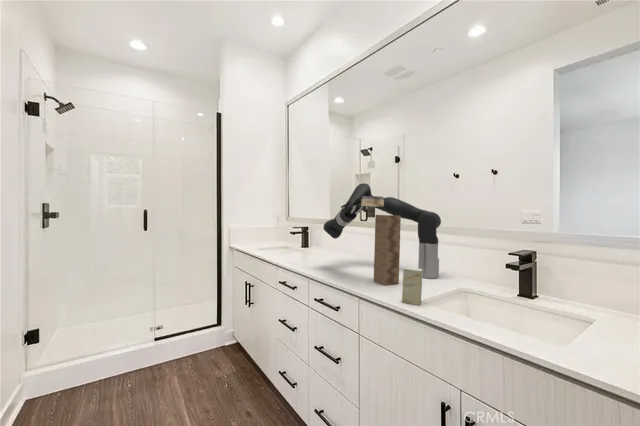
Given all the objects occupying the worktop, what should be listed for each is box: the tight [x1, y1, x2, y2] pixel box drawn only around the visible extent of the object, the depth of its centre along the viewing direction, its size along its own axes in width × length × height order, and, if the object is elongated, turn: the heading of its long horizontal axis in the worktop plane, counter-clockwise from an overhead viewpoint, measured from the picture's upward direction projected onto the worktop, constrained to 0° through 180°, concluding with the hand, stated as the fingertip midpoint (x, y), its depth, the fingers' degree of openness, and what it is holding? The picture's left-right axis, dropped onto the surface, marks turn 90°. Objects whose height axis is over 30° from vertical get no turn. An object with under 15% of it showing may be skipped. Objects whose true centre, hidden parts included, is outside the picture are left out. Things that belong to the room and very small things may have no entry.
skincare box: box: [401, 266, 423, 306], centre depth 105 cm, size 6×4×12 cm
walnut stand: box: [373, 214, 402, 287], centre depth 133 cm, size 8×8×31 cm
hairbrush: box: [358, 195, 384, 207], centre depth 129 cm, size 6×16×4 cm, turn 25°
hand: (363, 199), depth 132 cm, fingers closed on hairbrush, 2 cm apart
